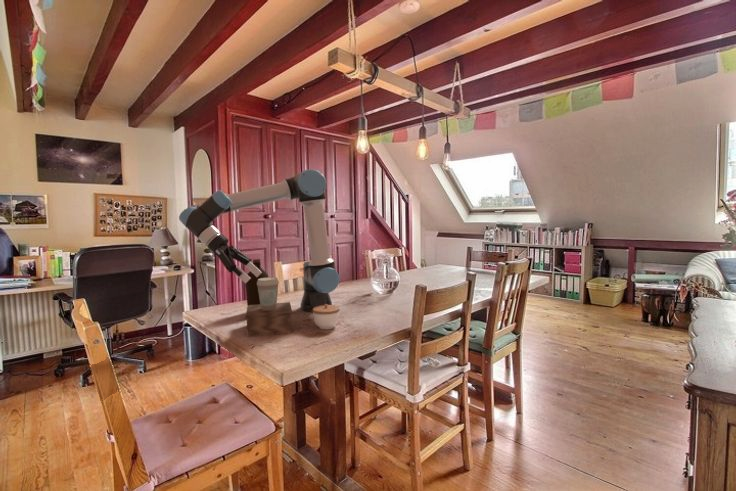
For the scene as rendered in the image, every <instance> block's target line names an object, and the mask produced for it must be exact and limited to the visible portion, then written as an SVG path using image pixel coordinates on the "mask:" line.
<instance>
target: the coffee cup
mask: <svg viewBox="0 0 736 491" xmlns="http://www.w3.org/2000/svg"><path fill="white" fill-rule="evenodd" d="M279 284H280V281H279V279H278V278H277V277H274V276H273V277H269V276H268V277H267V278H260V279H258V281H257V286H258V292H259V299H260V305H261V310H264V311H269V310H274V309H276V305H277V303H278V294H279V293H278V292H279Z"/></svg>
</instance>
